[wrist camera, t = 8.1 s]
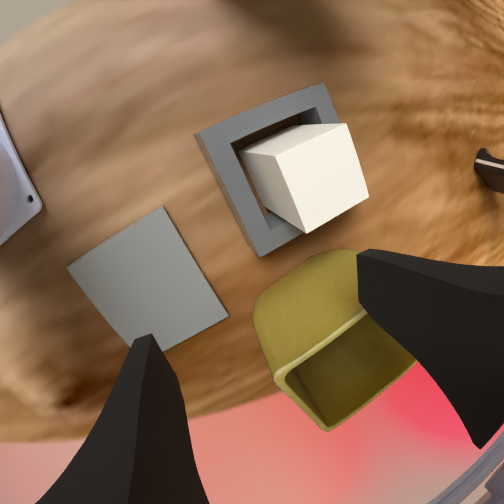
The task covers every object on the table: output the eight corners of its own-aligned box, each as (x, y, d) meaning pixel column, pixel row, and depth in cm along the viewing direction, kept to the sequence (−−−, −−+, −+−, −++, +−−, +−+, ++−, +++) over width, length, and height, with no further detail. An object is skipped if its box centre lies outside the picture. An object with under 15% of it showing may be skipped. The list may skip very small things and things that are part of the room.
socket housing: (193, 134, 16) (199, 132, 14) (304, 87, 17) (326, 82, 14) (247, 243, 20) (261, 258, 17) (342, 191, 20) (365, 198, 18)
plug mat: (67, 266, 16) (66, 268, 16) (162, 205, 17) (163, 207, 17) (143, 358, 20) (143, 361, 20) (227, 313, 21) (228, 316, 21)
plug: (263, 206, 19) (306, 233, 14) (237, 151, 17) (274, 156, 12) (313, 179, 20) (369, 196, 14) (292, 125, 18) (346, 123, 12)
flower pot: (325, 218, 21) (415, 267, 13) (358, 298, 25) (426, 355, 17) (224, 288, 20) (270, 378, 12) (277, 356, 24) (326, 434, 16)
